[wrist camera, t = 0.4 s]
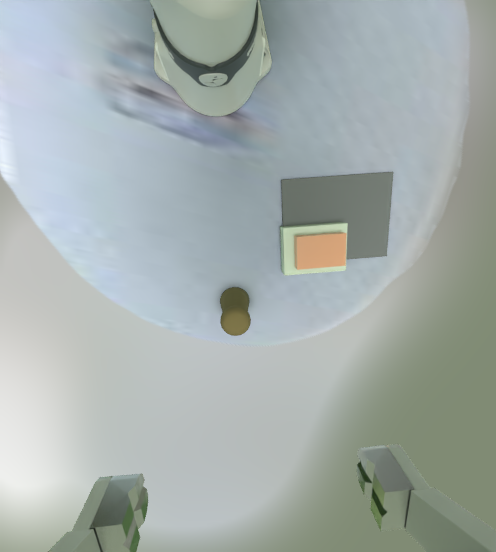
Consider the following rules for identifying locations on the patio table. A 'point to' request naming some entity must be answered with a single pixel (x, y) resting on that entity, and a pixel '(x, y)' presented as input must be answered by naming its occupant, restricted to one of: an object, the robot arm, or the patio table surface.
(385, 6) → the patio table surface
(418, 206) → the patio table surface
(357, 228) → the mat
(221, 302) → the cork
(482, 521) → the robot arm
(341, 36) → the patio table surface
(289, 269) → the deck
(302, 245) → the block
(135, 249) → the patio table surface
